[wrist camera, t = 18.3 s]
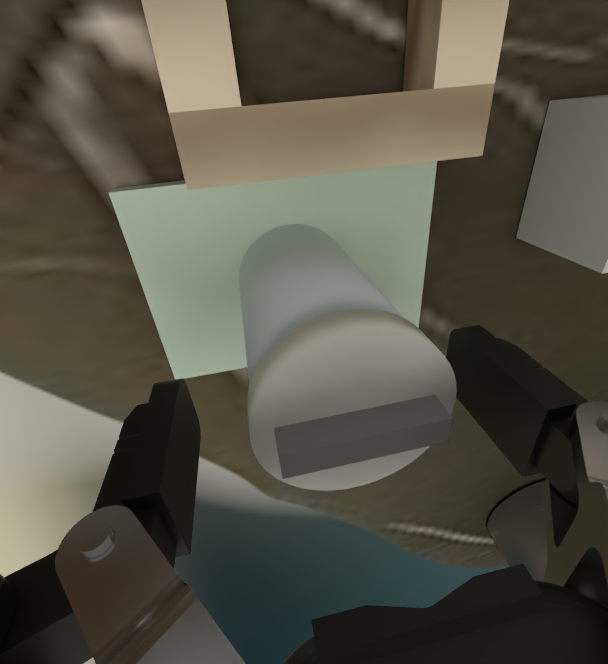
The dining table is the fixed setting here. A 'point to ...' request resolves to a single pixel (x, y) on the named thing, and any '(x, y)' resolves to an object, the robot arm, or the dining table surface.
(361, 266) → the mat
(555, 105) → the plunger posts
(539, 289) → the dining table surface
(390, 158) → the collar
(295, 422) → the canister
